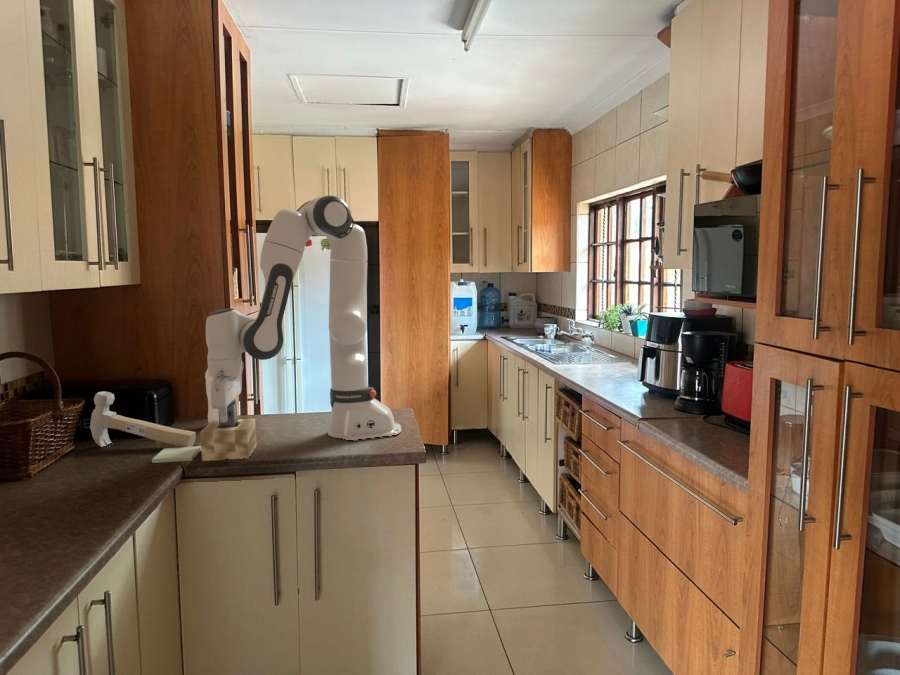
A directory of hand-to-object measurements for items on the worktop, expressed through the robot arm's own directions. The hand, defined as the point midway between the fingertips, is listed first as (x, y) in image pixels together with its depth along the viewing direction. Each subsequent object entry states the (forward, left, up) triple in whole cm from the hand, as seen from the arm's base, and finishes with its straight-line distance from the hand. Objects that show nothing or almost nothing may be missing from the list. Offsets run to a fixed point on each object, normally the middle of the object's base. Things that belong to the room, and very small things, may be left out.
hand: (228, 417), depth 164 cm
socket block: (0, 0, -10) cm, 10 cm away
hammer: (+26, -11, -10) cm, 30 cm away
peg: (0, 0, -8) cm, 8 cm away
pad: (+14, 0, -10) cm, 17 cm away
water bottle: (+10, -31, -10) cm, 34 cm away
